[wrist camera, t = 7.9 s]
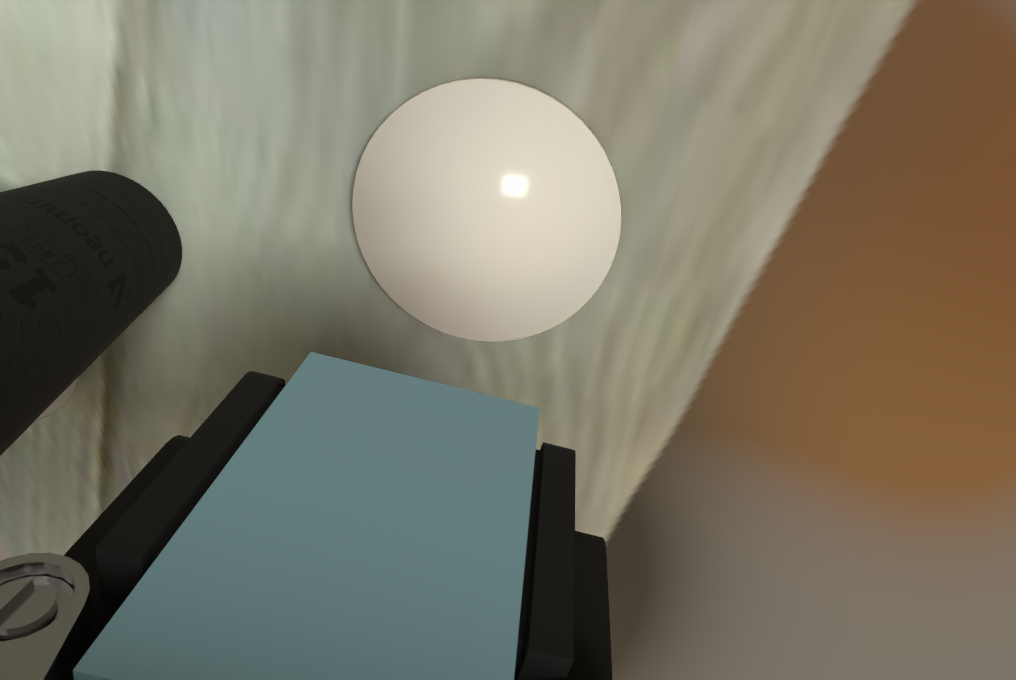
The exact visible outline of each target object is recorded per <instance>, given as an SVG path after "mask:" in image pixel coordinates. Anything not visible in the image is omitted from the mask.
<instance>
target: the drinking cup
mask: <svg viewBox="0 0 1016 680" xmlns="http://www.w3.org/2000/svg"><path fill="white" fill-rule="evenodd" d="M181 258H182V247H181V241H180V237H179V233H178V230H177V228H176V225H175V223H174V221H173V219H172V218H171V216H170V214H169V213H168V211H167V210H166V209H165V207H164V206H163V205H162V204H161V202H160V201H159V200H158V199H157V198H156V197H155V196H154V195H153V194H151V193H150V192H149V191H148V190H147V189H145V188H144V187H142V186H141V185H139V184H138V183H136V182H134V181H133V180H130V179H128V178H126V177H124V176H121V175H118V174H115V173H111V172H106V171H87V172H82V173H77V174H73V175H69V176H65V177H61V178H57V179H53V180H49V181H45V182H41V183H37V184H33V185H29V186H25V187H21V188H17V189H12V190H8V191H4V192H0V455H1V454H2V453H3V452H4V451H5V450H6V449H7V448H8V447H9V446H10V445H11V444H12V443H13V442H14V441H15V440H16V439H17V438H18V437H19V436H20V435H21V434H22V433H23V432H24V431H25V430H26V429H27V428H28V427H29V426H30V425H31V424H32V423H33V422H34V421H35V420H36V419H37V418H38V417H39V416H40V415H41V414H42V413H43V412H44V411H45V410H46V409H47V408H48V407H49V406H50V405H51V404H52V403H53V402H54V401H55V400H56V399H57V398H58V397H59V396H60V395H61V394H62V393H63V392H64V391H65V390H66V389H67V388H68V387H69V386H70V385H71V384H72V383H73V382H74V381H75V380H76V379H77V378H78V377H79V376H80V375H81V374H82V373H83V372H84V371H85V370H86V369H87V368H88V367H89V366H90V364H91V363H92V362H93V361H94V360H95V359H96V358H97V357H98V356H99V355H100V354H101V353H102V352H103V351H104V350H105V349H106V348H107V347H108V346H109V345H110V344H111V343H112V342H113V341H114V340H115V339H116V338H117V337H118V336H119V335H120V334H121V333H122V332H123V331H124V330H125V329H126V328H127V327H128V326H129V325H130V324H131V323H132V322H133V321H134V320H135V319H136V318H137V317H138V316H139V315H140V314H141V313H142V312H143V311H144V310H145V309H146V308H147V307H148V306H149V305H150V304H151V303H152V302H153V301H154V300H155V299H156V298H157V297H158V296H159V295H160V294H161V293H162V292H163V291H164V290H165V289H166V288H167V287H168V286H169V285H170V284H171V282H172V281H173V280H174V278H175V277H176V275H177V273H178V271H179V268H180V264H181Z"/></svg>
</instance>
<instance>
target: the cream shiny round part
mask: <svg viewBox="0 0 1016 680" xmlns="http://www.w3.org/2000/svg"><path fill="white" fill-rule="evenodd" d="M352 211H353V222H354V228H355V232H356V237H357V241H358V244H359V247H360V250H361V252H362V255H363V257H364V259H365V261H366V263H367V265H368V267H369V269H370V271H371V273H372V274H373V276H374V277H375V279H376V280H377V282H378V283H379V285H380V286H381V287H382V288H383V290H384V291H385V292H386V293H387V294H388V295H389V297H390V298H391V299H392V300H393V301H395V302H396V303H397V304H398V305H399V306H400V307H401V308H402V309H403V310H405V311H406V312H407V313H409V314H410V315H412V316H413V317H414V318H416V319H417V320H419V321H421V322H423V323H424V324H426V325H428V326H430V327H432V328H434V329H437V330H439V331H441V332H443V333H446V334H450V335H453V336H456V337H460V338H465V339H470V340H476V341H491V342H492V341H509V340H515V339H521V338H525V337H529V336H532V335H535V334H539V333H541V332H543V331H546V330H548V329H550V328H553V327H554V326H556V325H558V324H560V323H561V322H563V321H565V320H566V319H568V318H569V317H570V316H572V315H573V314H574V313H575V312H577V311H578V310H579V309H580V308H581V307H582V306H583V305H584V304H585V303H586V302H587V301H588V300H589V299H590V298H591V297H592V296H593V294H594V293H595V292H596V291H597V289H598V288H599V287H600V285H601V284H602V282H603V280H604V278H605V277H606V275H607V273H608V271H609V269H610V267H611V264H612V262H613V259H614V257H615V253H616V250H617V246H618V242H619V236H620V227H621V204H620V198H619V192H618V186H617V181H616V178H615V175H614V171H613V168H612V165H611V163H610V161H609V158H608V156H607V154H606V152H605V150H604V148H603V146H602V145H601V143H600V142H599V140H598V139H597V137H596V135H595V134H594V132H593V131H592V130H591V129H590V128H589V127H588V125H587V124H586V123H585V122H584V121H583V120H582V119H581V118H580V117H579V116H578V115H577V114H576V113H575V112H574V111H573V110H571V109H570V108H569V107H568V106H567V105H565V104H564V103H562V102H561V101H559V100H558V99H556V98H555V97H553V96H552V95H550V94H548V93H546V92H544V91H542V90H540V89H537V88H535V87H533V86H530V85H527V84H524V83H521V82H518V81H513V80H507V79H502V78H491V77H474V78H464V79H458V80H454V81H450V82H446V83H442V84H440V85H437V86H435V87H432V88H430V89H427V90H425V91H423V92H422V93H420V94H418V95H417V96H415V97H413V98H411V99H410V100H408V101H407V102H406V103H404V104H403V105H402V106H401V107H399V108H398V109H397V110H396V111H394V112H393V113H392V114H391V115H390V116H389V117H388V118H387V119H386V120H385V121H384V122H383V124H382V125H381V126H380V127H379V128H378V130H377V131H376V132H375V134H374V135H373V137H372V138H371V140H370V141H369V143H368V145H367V147H366V149H365V151H364V153H363V155H362V157H361V160H360V163H359V166H358V169H357V172H356V177H355V182H354V187H353V201H352Z"/></svg>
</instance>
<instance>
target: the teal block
mask: <svg viewBox="0 0 1016 680" xmlns="http://www.w3.org/2000/svg"><path fill="white" fill-rule="evenodd" d="M538 419H539V408H538V407H534V406H530V405H526V404H522V403H518V402H514V401H510V400H505V399H501V398H497V397H493V396H489V395H485V394H481V393H477V392H473V391H469V390H465V389H461V388H457V387H453V386H449V385H444V384H440V383H436V382H432V381H428V380H424V379H420V378H416V377H412V376H408V375H404V374H400V373H396V372H392V371H388V370H383V369H379V368H375V367H371V366H367V365H363V364H359V363H355V362H351V361H347V360H343V359H339V358H335V357H331V356H327V355H322V354H318V353H314V352H310V353H309V355H308V356H307V357H306V359H305V360H304V361H303V363H302V364H301V365H300V367H299V368H298V369H297V371H296V372H295V373H294V375H293V376H292V377H291V379H290V380H289V382H288V383H287V384H286V386H285V387H284V388H283V390H282V391H281V392H280V394H279V395H278V396H277V398H276V399H275V400H274V402H273V403H272V404H271V406H270V407H269V408H268V410H267V411H266V412H265V414H264V415H263V416H262V418H261V419H260V420H259V422H258V423H257V424H256V426H255V427H254V428H253V430H252V431H251V432H250V434H249V435H248V436H247V438H246V439H245V440H244V442H243V443H242V444H241V446H240V447H239V448H238V450H237V451H236V452H235V454H234V455H233V456H232V458H231V459H230V460H229V462H228V463H227V464H226V466H225V467H224V469H223V470H222V471H221V473H220V474H219V475H218V477H217V478H216V479H215V481H214V482H213V483H212V485H211V486H210V487H209V489H208V490H207V491H206V493H205V494H204V495H203V497H202V498H201V499H200V501H199V502H198V503H197V505H196V506H195V507H194V509H193V510H192V511H191V513H190V514H189V515H188V517H187V518H186V519H185V521H184V522H183V523H182V525H181V526H180V527H179V529H178V530H177V531H176V533H175V534H174V535H173V537H172V538H171V539H170V541H169V542H168V543H167V545H166V546H165V547H164V549H163V550H162V551H161V553H160V554H159V556H158V557H157V558H156V560H155V561H154V562H153V564H152V565H151V566H150V568H149V569H148V570H147V572H146V573H145V574H144V576H143V577H142V578H141V580H140V581H139V582H138V584H137V585H136V586H135V588H134V589H133V590H132V592H131V593H130V594H129V596H128V597H127V598H126V600H125V601H124V602H123V604H122V605H121V606H120V608H119V609H118V610H117V612H116V613H115V614H114V616H113V617H112V618H111V620H110V621H109V622H108V624H107V625H106V626H105V628H104V629H103V630H102V632H101V633H100V634H99V636H98V637H97V638H96V640H95V641H94V643H93V644H92V645H91V647H90V648H89V649H88V651H87V652H86V653H85V655H84V656H83V657H82V659H81V660H80V661H79V663H78V664H77V665H76V667H75V668H74V669H73V676H74V680H514V674H515V663H516V653H517V642H518V631H519V621H520V610H521V600H522V589H523V578H524V568H525V557H526V546H527V536H528V525H529V515H530V504H531V493H532V483H533V472H534V461H535V451H536V440H537V430H538Z"/></svg>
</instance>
